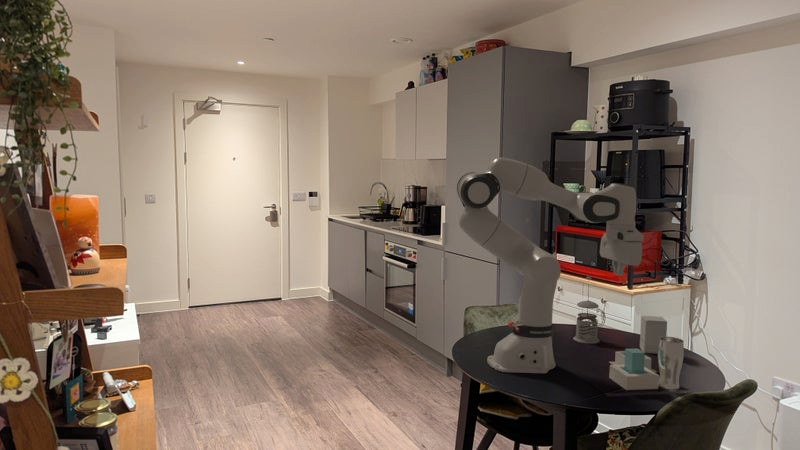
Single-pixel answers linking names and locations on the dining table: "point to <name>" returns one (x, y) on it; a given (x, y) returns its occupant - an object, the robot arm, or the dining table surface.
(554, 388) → the dining table surface
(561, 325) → the dining table surface
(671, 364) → the beer glass
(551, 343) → the robot arm
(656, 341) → the supplement box
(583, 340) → the french press
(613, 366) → the port block
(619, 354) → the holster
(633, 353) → the plug
